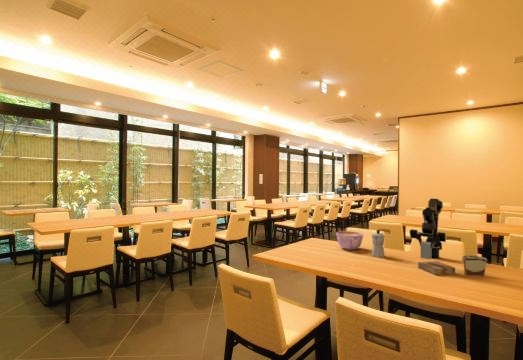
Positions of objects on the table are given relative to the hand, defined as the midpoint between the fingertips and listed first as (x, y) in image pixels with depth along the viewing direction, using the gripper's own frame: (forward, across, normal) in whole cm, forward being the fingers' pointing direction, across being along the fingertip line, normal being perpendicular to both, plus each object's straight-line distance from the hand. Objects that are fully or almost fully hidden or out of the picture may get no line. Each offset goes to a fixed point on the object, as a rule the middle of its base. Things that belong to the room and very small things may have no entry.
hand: (425, 247), depth 170 cm
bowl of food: (-6, -54, +25) cm, 60 cm away
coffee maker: (-1, -31, +20) cm, 37 cm away
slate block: (+4, 0, +6) cm, 7 cm away
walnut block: (+9, +5, +11) cm, 15 cm away
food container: (+4, +22, +16) cm, 27 cm away
